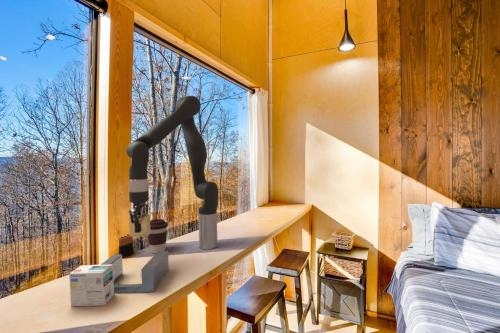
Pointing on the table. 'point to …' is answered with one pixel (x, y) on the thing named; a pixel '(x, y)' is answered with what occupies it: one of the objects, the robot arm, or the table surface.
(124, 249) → the battery
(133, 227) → the block
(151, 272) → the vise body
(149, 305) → the table surface
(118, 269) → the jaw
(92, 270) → the light bulb box
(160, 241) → the coffee cup
